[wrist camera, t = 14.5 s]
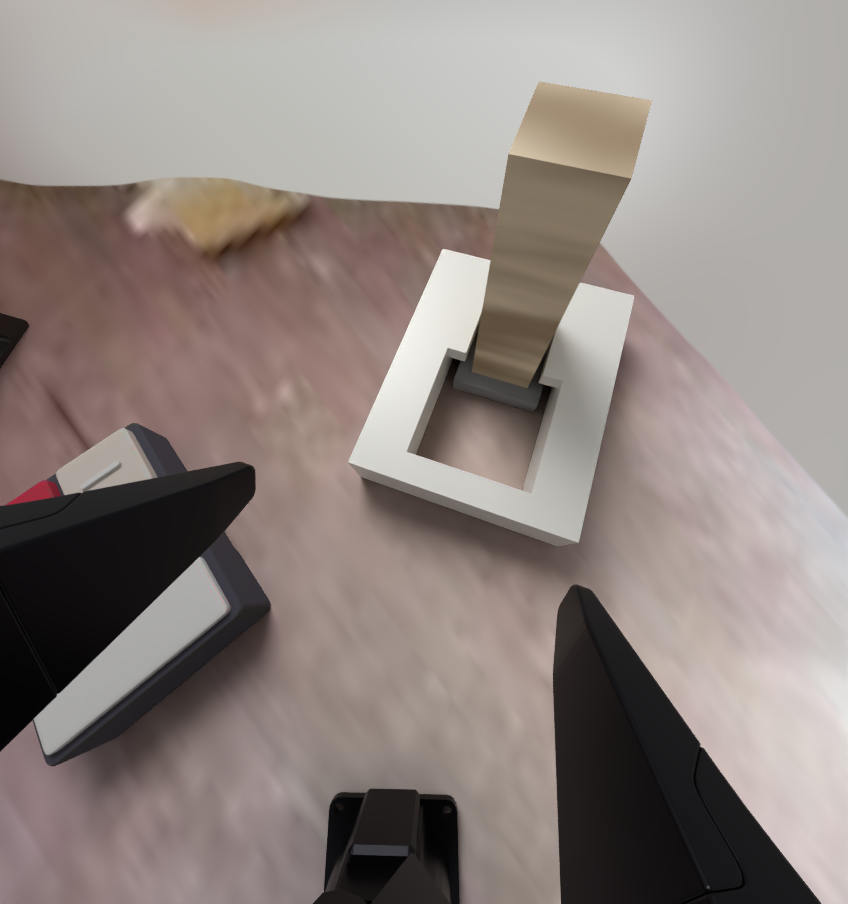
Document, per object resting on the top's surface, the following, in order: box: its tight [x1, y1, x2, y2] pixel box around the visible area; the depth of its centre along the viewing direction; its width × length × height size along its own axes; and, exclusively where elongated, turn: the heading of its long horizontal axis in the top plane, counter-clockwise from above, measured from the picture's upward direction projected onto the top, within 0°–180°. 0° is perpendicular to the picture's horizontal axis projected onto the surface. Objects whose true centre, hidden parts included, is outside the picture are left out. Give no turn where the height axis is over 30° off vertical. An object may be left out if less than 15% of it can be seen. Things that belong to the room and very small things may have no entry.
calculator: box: [6, 423, 271, 766], centre depth 21 cm, size 11×4×15 cm
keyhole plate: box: [348, 249, 634, 547], centre depth 24 cm, size 17×14×4 cm
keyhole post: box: [453, 82, 651, 412], centre depth 19 cm, size 6×6×15 cm
